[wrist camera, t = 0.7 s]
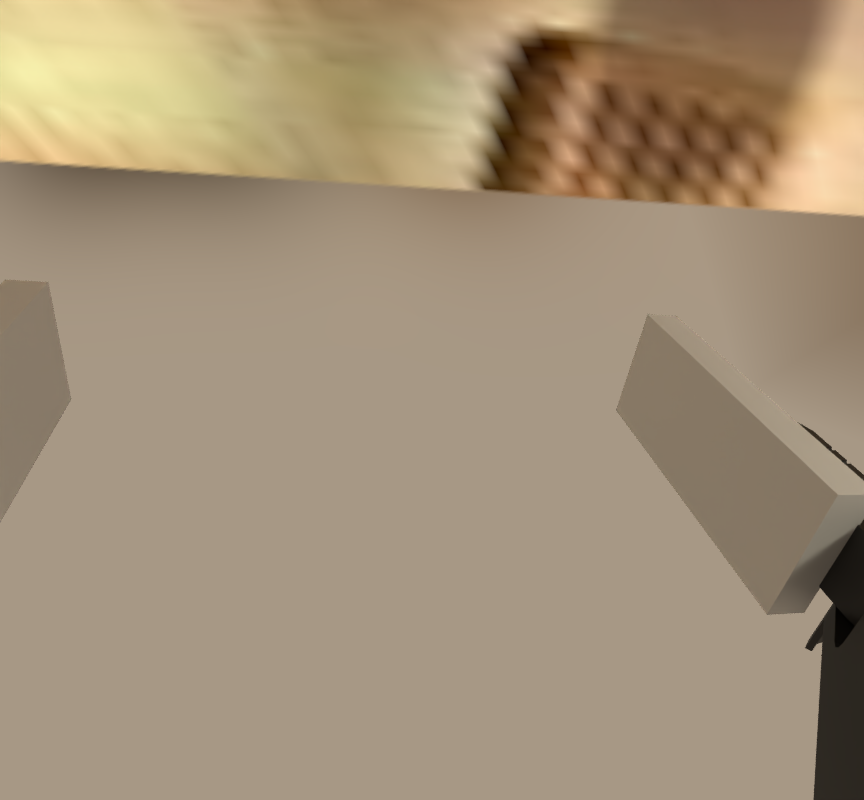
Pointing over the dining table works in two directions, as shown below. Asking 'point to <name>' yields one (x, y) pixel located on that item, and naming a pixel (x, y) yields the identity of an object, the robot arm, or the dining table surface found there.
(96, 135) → the dining table surface
